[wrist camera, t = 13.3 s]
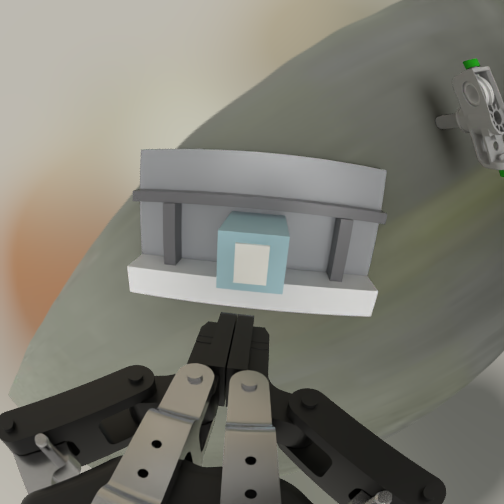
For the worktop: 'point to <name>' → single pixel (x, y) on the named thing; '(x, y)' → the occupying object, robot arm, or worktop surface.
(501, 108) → the mechanical component
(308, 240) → the rail mount
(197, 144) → the worktop surface
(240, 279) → the block
